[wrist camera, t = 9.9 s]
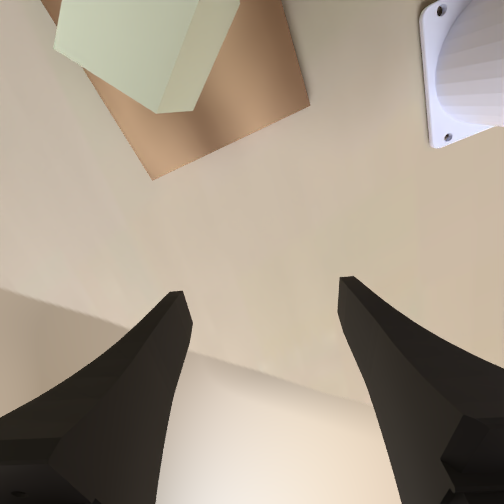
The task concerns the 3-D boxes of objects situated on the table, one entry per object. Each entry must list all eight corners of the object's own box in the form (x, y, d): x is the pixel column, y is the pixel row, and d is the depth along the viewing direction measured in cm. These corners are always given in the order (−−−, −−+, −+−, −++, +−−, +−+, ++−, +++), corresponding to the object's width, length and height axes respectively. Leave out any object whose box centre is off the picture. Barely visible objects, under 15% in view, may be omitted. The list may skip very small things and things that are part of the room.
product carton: (240, 3, 14) (227, -76, 8) (193, 110, 16) (156, 113, 10) (168, -56, 13) (89, -201, 7) (129, 69, 15) (47, 44, 9)
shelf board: (224, -190, 11) (217, -260, 9) (308, 105, 17) (315, 105, 15) (26, -36, 14) (-17, -62, 12) (156, 177, 19) (143, 186, 17)
